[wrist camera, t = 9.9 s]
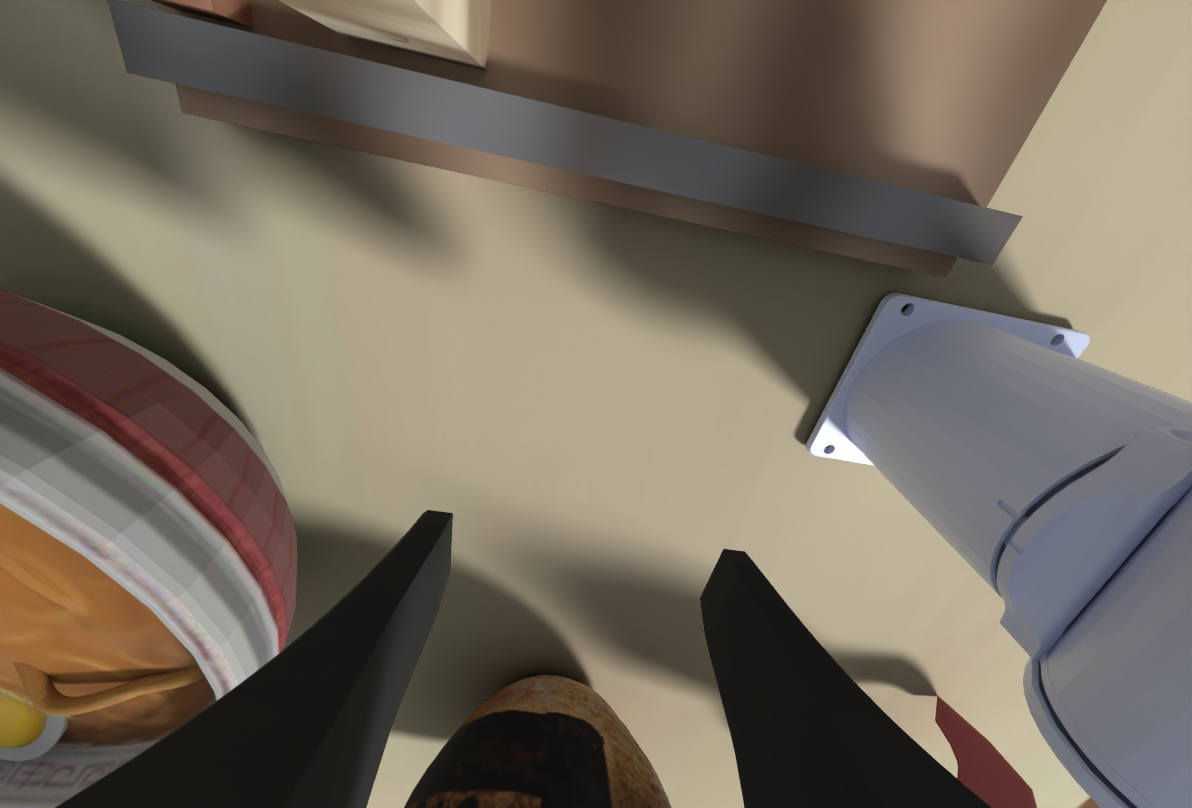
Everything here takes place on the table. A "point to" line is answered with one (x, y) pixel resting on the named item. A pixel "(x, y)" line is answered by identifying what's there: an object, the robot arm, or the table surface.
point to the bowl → (122, 552)
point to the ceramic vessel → (541, 754)
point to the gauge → (411, 25)
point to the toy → (982, 763)
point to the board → (670, 105)
